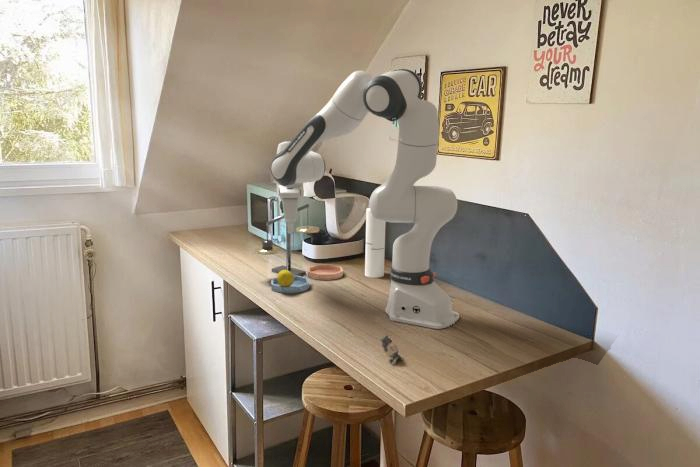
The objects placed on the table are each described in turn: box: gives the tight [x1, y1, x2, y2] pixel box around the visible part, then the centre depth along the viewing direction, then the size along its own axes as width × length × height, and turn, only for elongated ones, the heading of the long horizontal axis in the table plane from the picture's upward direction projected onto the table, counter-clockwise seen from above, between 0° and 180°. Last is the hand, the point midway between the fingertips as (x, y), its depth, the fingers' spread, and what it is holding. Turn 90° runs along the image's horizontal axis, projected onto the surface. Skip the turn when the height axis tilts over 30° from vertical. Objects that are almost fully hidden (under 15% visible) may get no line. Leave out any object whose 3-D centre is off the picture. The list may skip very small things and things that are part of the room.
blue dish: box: [270, 276, 310, 295], centre depth 188 cm, size 13×13×2 cm
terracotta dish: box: [306, 263, 344, 281], centre depth 203 cm, size 13×13×2 cm
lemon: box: [276, 270, 294, 287], centre depth 183 cm, size 6×6×8 cm
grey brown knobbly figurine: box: [379, 334, 404, 366], centre depth 135 cm, size 5×5×6 cm
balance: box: [254, 203, 320, 277], centre depth 202 cm, size 31×12×25 cm, turn 143°
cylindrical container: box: [364, 207, 386, 279], centre depth 202 cm, size 7×7×25 cm
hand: (290, 230), depth 184 cm, fingers open, 8 cm apart
